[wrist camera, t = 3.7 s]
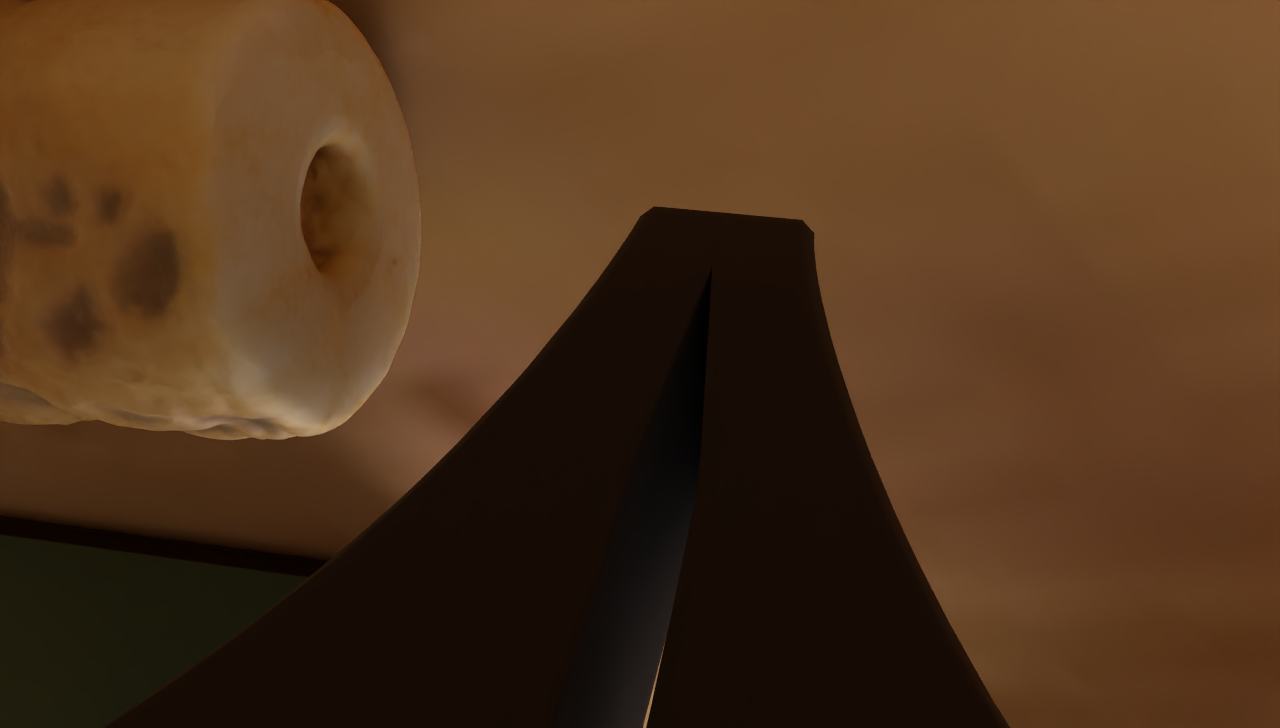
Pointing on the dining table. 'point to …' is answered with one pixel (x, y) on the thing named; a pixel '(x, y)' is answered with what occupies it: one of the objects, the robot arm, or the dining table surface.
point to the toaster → (117, 616)
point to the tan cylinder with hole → (199, 216)
